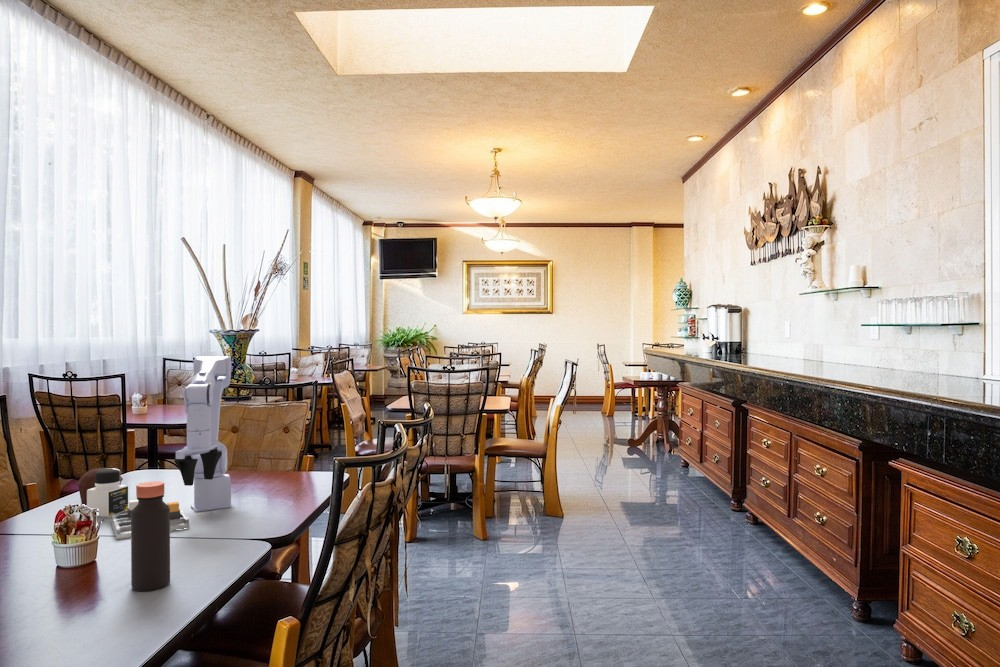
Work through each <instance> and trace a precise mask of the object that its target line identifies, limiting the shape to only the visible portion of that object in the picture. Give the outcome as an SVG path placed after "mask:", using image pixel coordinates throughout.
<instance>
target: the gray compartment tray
mask: <svg viewBox="0 0 1000 667" xmlns="http://www.w3.org/2000/svg"><path fill="white" fill-rule="evenodd" d="M179 510H180V515H181V518H177V519H170V532H172V531H171V530H176V529H183V530H185V529H184V528H189V529H190V519H189V517H188V516H187V515H186V513H185V512H184V511H183V509H182V508H181V507H180V506H179ZM110 524H111V526H112V528H113V529H112V530H113V532H115V533H114V535H115V538H116V540H123V538H124V539H131V538H130V537H131V517H128V518H127V512H126V513H119V514H117V515H115V513H114V514H111V517H110ZM176 531H177V530H176Z"/></svg>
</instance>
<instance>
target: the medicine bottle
mask: <svg viewBox="0 0 1000 667" xmlns="http://www.w3.org/2000/svg"><path fill="white" fill-rule="evenodd" d="M120 476H121V470H120V469H118V468H110V467H109V469H101V470H99V471H97V472H96V473H95V486H96V487H95V488H92V489H88V490H87V506H88V507H90V508H98V509H99V515H98V516H97V517H99V518H100V517H101V518H111V514H114V513H115V515H116V514H117V515H118V514H123V513H124V511H125V512H127V508H129V485H127V484H121V485H119V484H120Z"/></svg>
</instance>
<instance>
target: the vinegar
mask: <svg viewBox="0 0 1000 667" xmlns="http://www.w3.org/2000/svg"><path fill="white" fill-rule="evenodd" d="M135 486H136V500H138V504H137V506H136V507H135V508H134V509H133V510H132V511H131V538H130V543H131V544H130V546H131V547H130V552H131V553H130V557H131V558H130V559H131V560H130V562H131V564H130V567H131V568H130V569H131V572H130V575H131V578H130V580H131V589H132V590H134V591H135V592H151V591H152V592H153V591H156V590H160V589H163V588H165V587H166V586H168V585H169V584H170V583H171V531H170V508H169V506H168V505H167V503H166V502H165V501H163V499H164V497H165V482H164V481H160V480H159V481H156V480H155V481H146V482H140V483H138V484H136V485H135Z"/></svg>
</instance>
